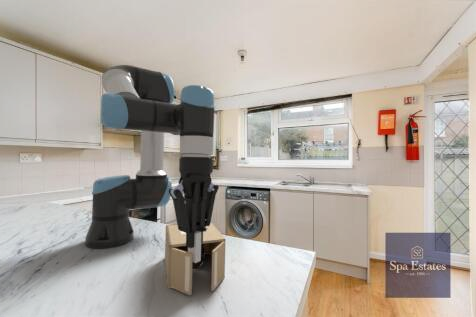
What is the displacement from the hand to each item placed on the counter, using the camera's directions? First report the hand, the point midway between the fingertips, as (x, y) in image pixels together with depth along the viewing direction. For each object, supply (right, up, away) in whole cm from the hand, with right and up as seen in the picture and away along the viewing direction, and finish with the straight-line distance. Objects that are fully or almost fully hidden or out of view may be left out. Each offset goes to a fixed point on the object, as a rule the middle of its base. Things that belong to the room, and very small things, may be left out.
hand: (194, 260), depth 49 cm
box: (-4, -8, +14) cm, 16 cm away
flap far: (+5, -7, +3) cm, 9 cm away
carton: (-3, -8, +12) cm, 14 cm away
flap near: (-3, -7, 0) cm, 8 cm away
